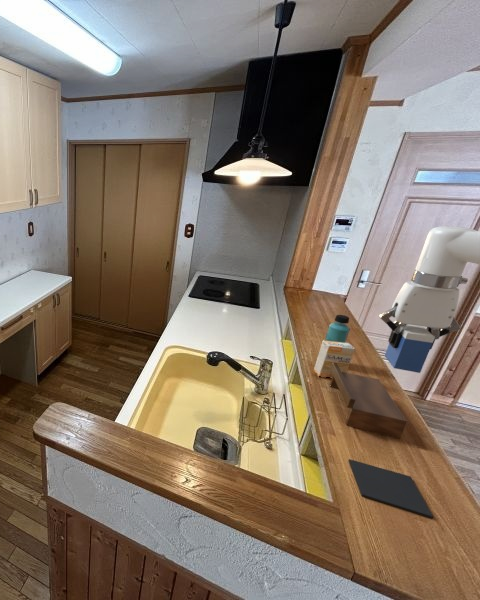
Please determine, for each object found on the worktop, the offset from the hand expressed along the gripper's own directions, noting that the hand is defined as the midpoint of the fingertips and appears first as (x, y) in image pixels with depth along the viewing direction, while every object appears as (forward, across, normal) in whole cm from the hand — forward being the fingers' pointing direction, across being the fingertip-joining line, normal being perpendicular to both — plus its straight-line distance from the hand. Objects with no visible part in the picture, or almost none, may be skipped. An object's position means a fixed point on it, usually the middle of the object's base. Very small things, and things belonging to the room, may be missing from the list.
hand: (407, 347), depth 82 cm
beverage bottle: (+27, +4, -40) cm, 49 cm away
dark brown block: (+27, +1, -11) cm, 29 cm away
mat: (+27, +3, +21) cm, 35 cm away
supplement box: (+27, +6, -29) cm, 40 cm away
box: (+5, 0, 0) cm, 5 cm away
